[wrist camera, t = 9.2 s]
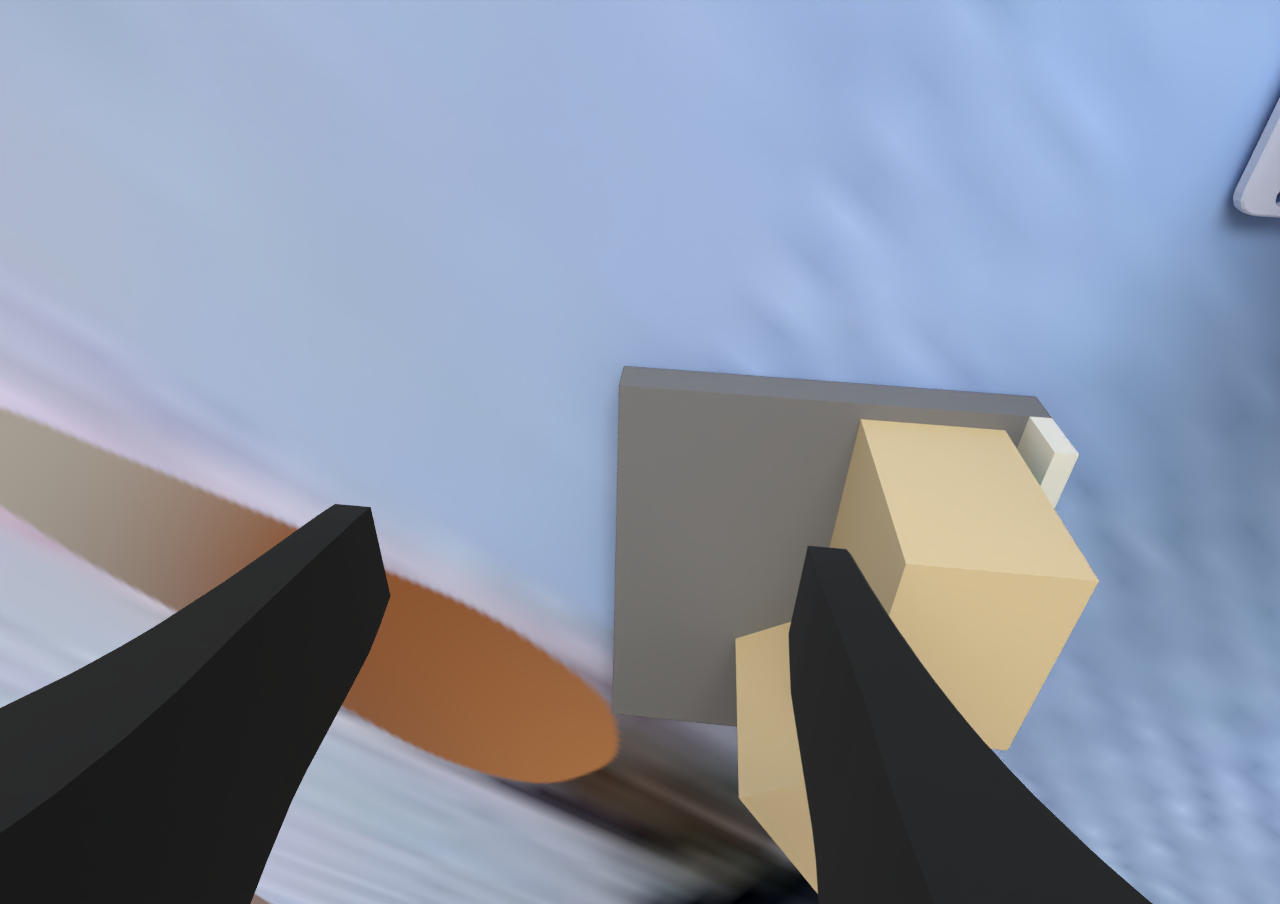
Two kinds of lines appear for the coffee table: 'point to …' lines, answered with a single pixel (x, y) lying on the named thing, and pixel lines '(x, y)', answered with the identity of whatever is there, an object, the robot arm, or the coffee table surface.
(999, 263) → the coffee table surface
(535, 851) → the coffee table surface
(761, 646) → the carton
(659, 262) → the coffee table surface
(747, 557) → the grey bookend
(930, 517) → the carton faced
